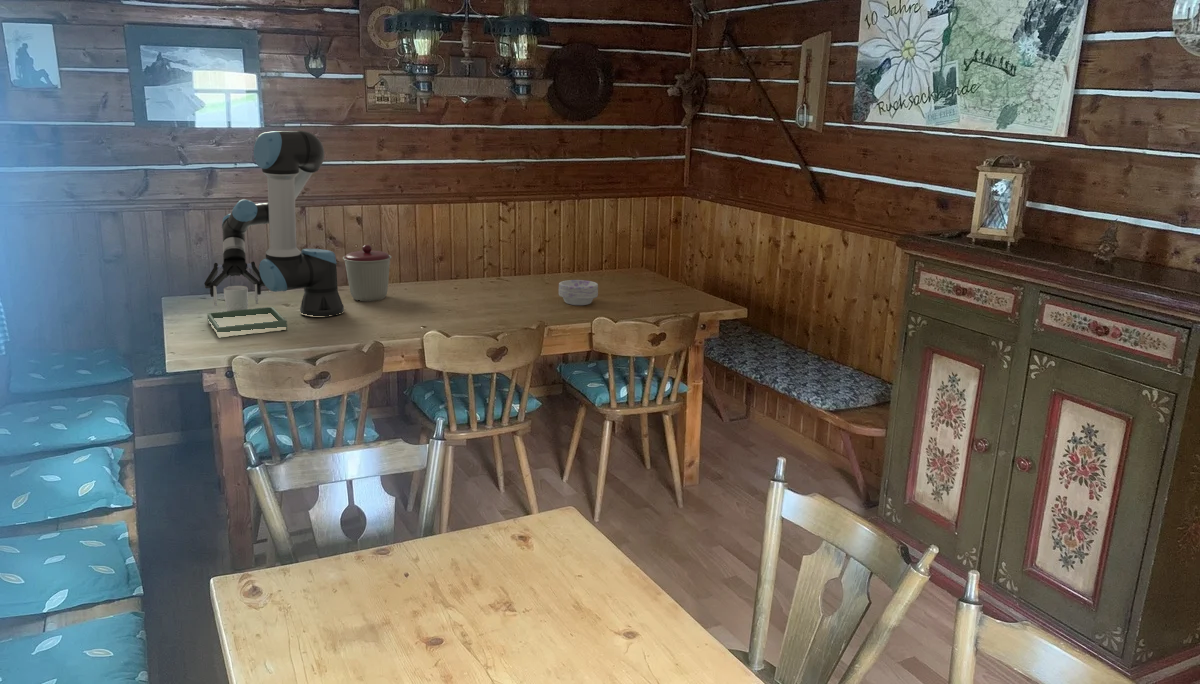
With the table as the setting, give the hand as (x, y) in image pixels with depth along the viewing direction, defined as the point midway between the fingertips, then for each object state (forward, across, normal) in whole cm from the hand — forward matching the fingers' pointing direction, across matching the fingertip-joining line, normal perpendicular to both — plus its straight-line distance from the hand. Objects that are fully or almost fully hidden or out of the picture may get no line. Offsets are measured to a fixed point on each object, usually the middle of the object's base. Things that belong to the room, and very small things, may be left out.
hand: (236, 302), depth 323 cm
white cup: (+3, 0, -5) cm, 6 cm away
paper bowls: (+9, -124, +2) cm, 124 cm away
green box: (+14, -4, +7) cm, 16 cm away
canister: (-8, -47, -16) cm, 50 cm away
